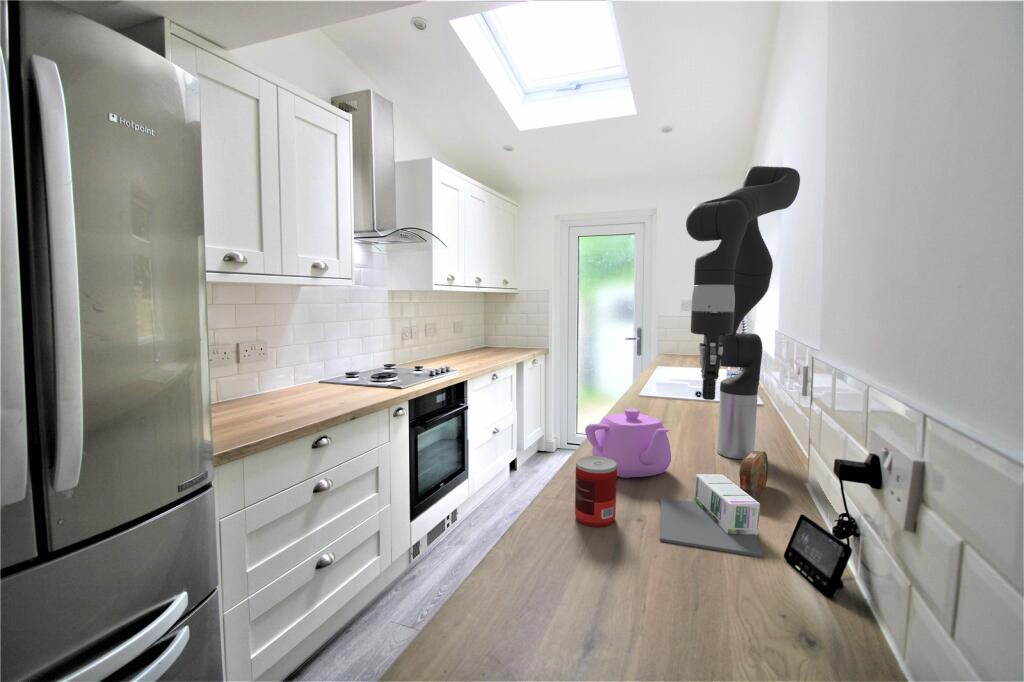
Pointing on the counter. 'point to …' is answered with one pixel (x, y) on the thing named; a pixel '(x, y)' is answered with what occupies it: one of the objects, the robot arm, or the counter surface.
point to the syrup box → (727, 504)
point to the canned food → (595, 491)
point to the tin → (754, 473)
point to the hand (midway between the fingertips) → (708, 398)
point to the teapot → (631, 443)
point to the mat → (701, 529)
